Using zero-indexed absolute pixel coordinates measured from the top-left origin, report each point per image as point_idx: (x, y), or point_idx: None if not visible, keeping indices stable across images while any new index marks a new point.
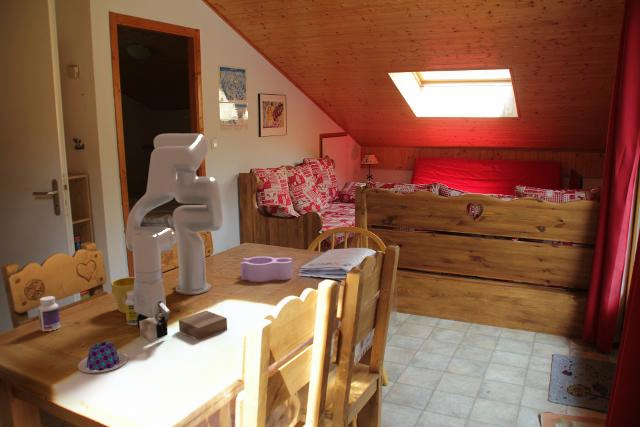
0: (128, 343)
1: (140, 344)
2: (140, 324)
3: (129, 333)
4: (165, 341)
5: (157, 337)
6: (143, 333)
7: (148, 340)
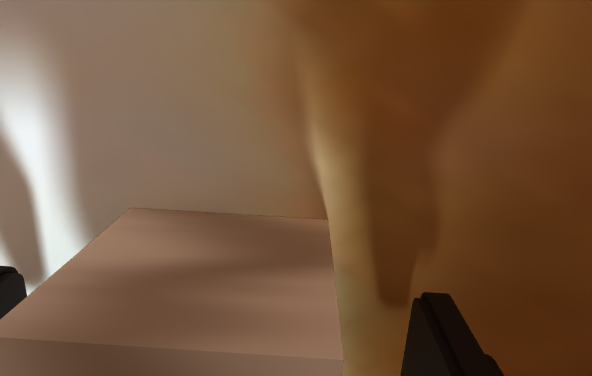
0: (287, 21)
1: (141, 94)
2: (307, 317)
3: (535, 212)
4: None
5: (5, 266)
6: (252, 244)
7: (163, 211)
